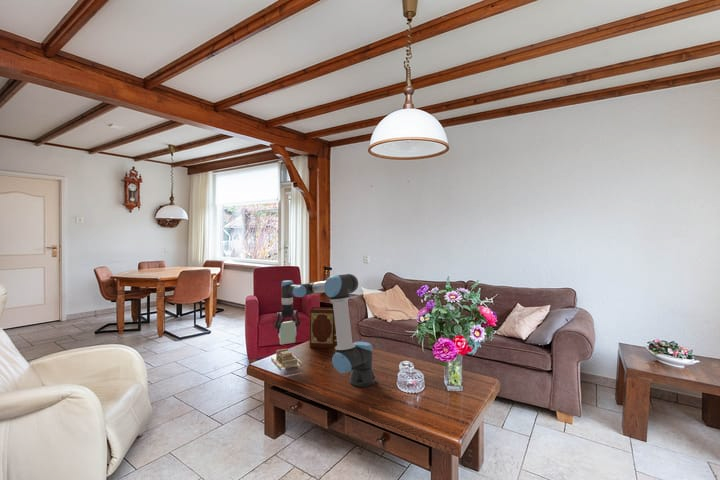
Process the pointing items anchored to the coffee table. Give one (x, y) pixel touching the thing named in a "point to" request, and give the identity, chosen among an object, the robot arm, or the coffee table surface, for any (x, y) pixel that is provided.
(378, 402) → the coffee table surface
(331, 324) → the decorative book
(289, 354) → the offcut oak
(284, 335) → the sage board
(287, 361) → the rack
